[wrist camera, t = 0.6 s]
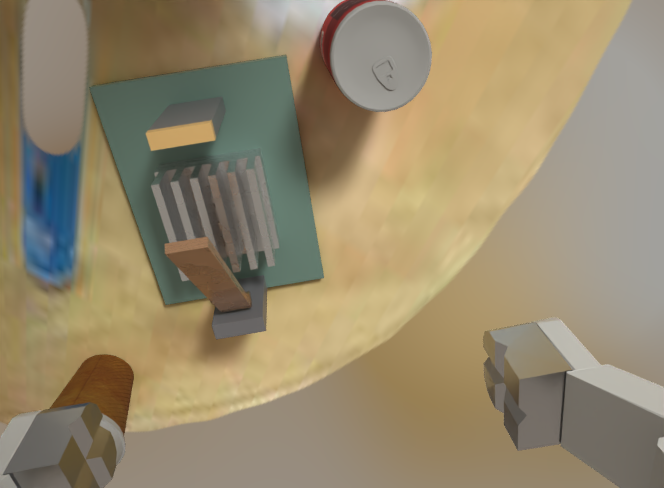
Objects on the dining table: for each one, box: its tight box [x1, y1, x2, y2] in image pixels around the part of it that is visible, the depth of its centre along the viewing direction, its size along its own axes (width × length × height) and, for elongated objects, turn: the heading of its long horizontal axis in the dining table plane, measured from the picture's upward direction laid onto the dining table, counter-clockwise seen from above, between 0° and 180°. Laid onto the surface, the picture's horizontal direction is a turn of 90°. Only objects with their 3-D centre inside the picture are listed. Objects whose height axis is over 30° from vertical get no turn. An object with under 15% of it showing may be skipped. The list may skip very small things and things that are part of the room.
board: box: [89, 55, 324, 339], centre depth 48 cm, size 24×18×11 cm
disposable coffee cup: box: [50, 355, 134, 466], centre depth 57 cm, size 10×10×12 cm
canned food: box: [320, 0, 432, 112], centre depth 43 cm, size 8×8×11 cm
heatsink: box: [151, 148, 279, 281], centre depth 50 cm, size 10×10×6 cm
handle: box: [165, 237, 252, 312], centre depth 44 cm, size 17×3×2 cm
